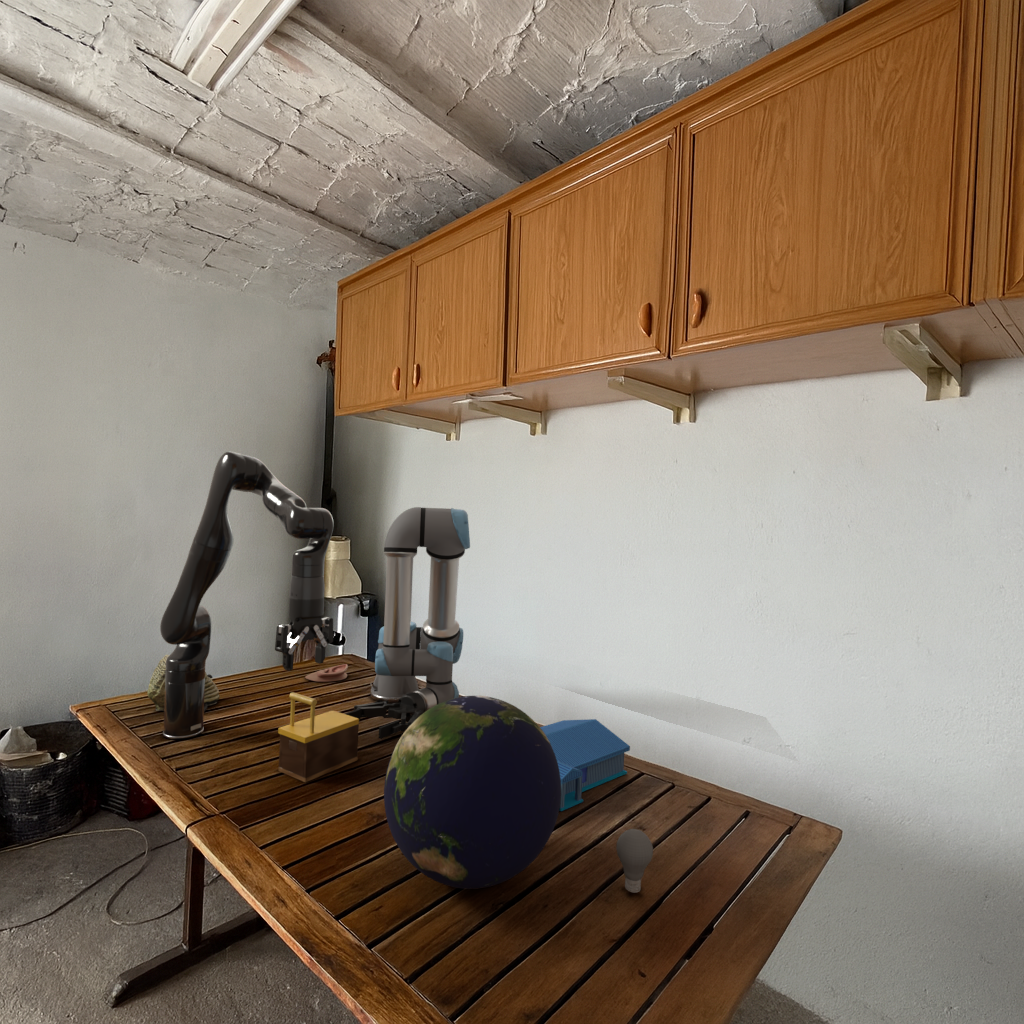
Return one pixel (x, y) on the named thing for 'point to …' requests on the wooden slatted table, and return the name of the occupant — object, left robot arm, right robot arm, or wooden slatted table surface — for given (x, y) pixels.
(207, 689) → the fossil
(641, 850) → the light bulb
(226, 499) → the left robot arm
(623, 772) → the model building
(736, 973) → the wooden slatted table surface
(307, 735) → the lid
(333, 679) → the anatomical model
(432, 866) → the globe
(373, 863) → the wooden slatted table surface
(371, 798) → the wooden slatted table surface
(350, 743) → the chest
